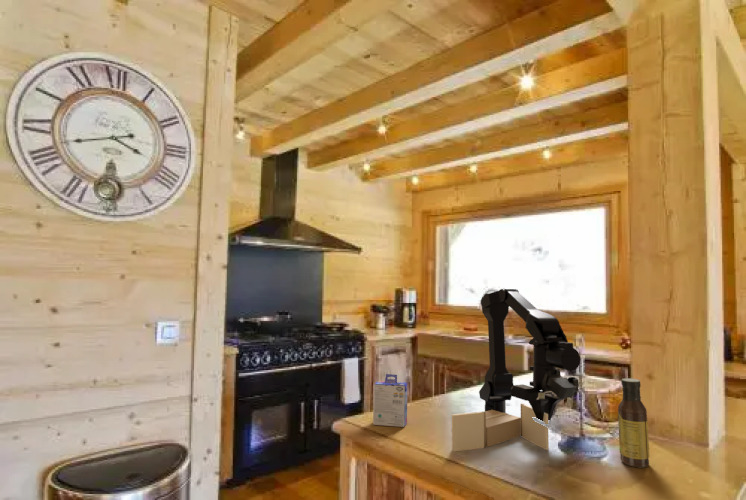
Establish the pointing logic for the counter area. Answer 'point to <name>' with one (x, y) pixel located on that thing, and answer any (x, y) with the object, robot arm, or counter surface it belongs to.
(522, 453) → the counter surface
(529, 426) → the side flap
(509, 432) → the carton
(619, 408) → the sauce bottle
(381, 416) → the ink cartridge box
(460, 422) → the front flap
